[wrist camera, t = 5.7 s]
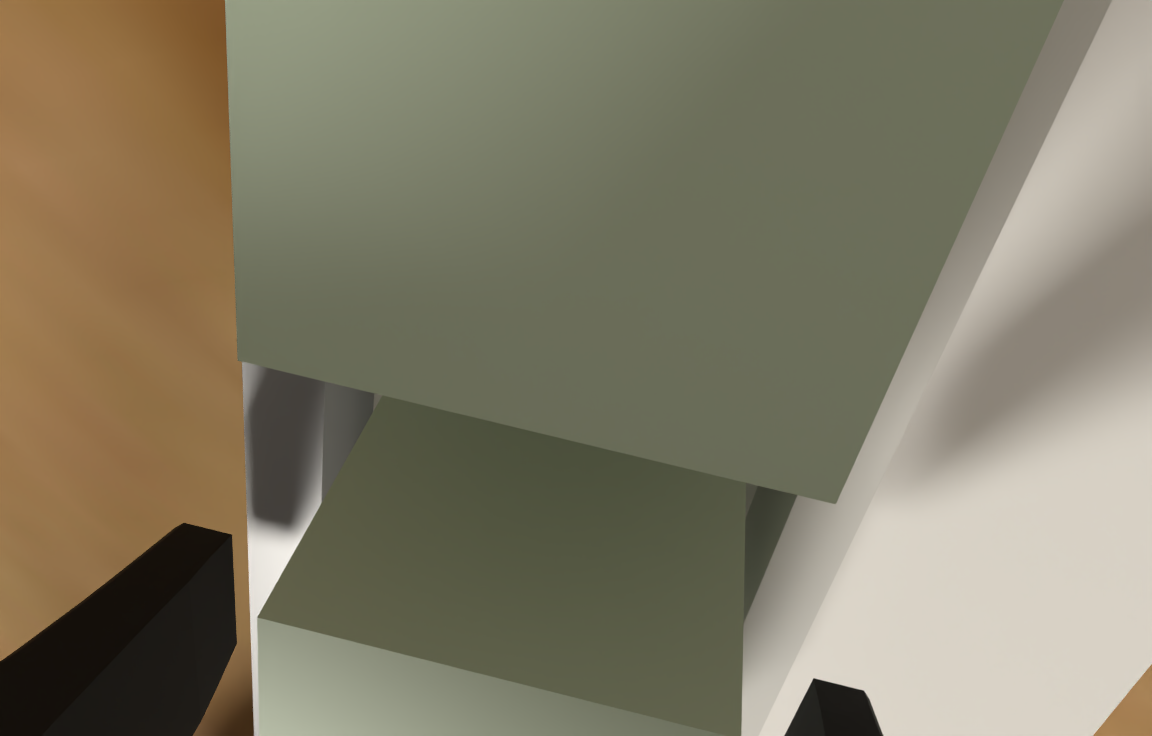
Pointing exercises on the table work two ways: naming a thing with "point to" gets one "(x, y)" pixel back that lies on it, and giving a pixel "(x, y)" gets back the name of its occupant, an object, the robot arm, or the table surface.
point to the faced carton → (615, 208)
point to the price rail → (290, 469)
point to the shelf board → (996, 446)
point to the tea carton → (507, 591)
